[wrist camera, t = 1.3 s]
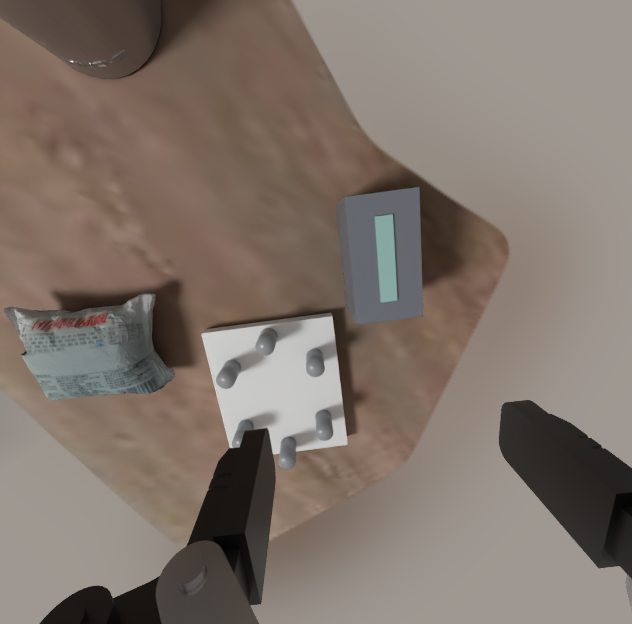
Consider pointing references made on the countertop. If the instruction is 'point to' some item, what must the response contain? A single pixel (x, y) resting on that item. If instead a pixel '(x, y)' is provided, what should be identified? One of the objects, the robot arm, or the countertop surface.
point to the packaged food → (92, 349)
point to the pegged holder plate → (279, 382)
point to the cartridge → (382, 255)
